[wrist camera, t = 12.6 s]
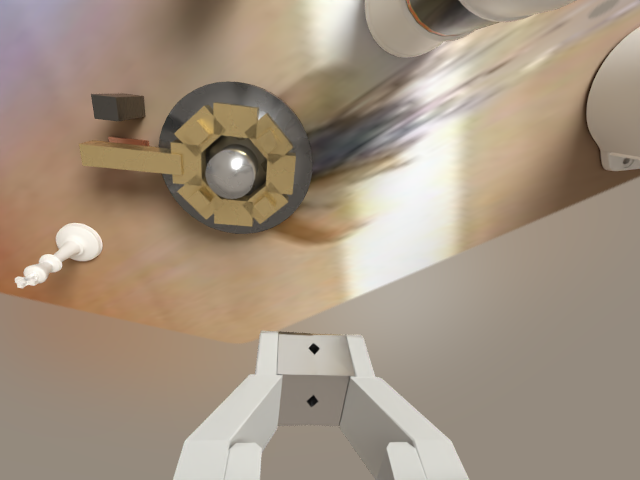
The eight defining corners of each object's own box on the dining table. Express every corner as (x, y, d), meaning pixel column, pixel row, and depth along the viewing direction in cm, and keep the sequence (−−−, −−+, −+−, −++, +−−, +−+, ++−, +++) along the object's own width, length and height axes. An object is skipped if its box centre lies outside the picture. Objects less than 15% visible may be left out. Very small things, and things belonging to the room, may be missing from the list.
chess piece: (57, 218, 39) (-14, 258, 29) (102, 227, 39) (47, 268, 30) (59, 255, 40) (-7, 302, 31) (102, 262, 41) (50, 310, 32)
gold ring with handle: (299, 112, 33) (300, 114, 30) (289, 222, 38) (289, 234, 35) (84, 84, 30) (63, 84, 27) (103, 207, 35) (86, 217, 32)
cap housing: (318, 93, 35) (326, 93, 28) (303, 229, 42) (306, 258, 34) (99, 63, 32) (45, 56, 25) (120, 214, 39) (81, 242, 32)
